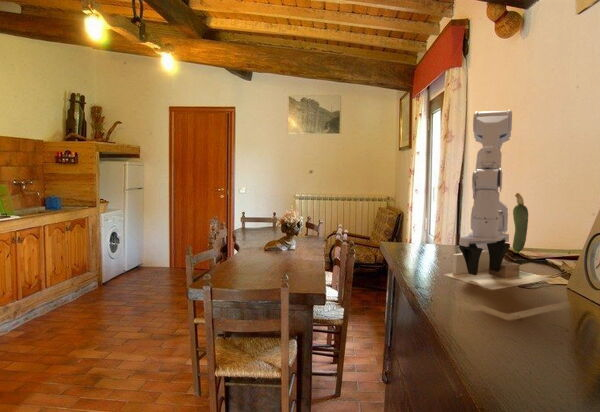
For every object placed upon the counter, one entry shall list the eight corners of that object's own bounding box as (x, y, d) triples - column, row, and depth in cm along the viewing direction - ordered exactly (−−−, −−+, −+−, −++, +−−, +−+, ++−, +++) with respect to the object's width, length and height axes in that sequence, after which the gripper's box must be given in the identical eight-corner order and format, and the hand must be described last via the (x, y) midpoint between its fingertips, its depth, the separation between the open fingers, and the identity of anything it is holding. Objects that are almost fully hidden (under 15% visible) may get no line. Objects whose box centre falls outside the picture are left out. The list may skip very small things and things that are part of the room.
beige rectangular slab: (452, 273, 109) (453, 254, 108) (496, 266, 116) (496, 248, 115) (456, 274, 108) (456, 255, 107) (500, 267, 114) (500, 249, 114)
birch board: (443, 278, 108) (443, 274, 108) (500, 269, 117) (500, 265, 117) (491, 294, 94) (492, 289, 94) (552, 282, 103) (553, 278, 103)
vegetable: (525, 253, 139) (528, 192, 137) (527, 255, 134) (530, 193, 133) (510, 252, 140) (512, 192, 138) (512, 254, 136) (514, 193, 134)
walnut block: (488, 273, 108) (488, 261, 108) (502, 271, 110) (502, 259, 110) (505, 278, 104) (505, 265, 104) (519, 275, 106) (519, 263, 106)
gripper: (477, 221, 96) (475, 279, 97) (520, 218, 102) (518, 272, 103) (453, 218, 102) (452, 272, 104) (496, 215, 109) (494, 266, 110)
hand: (483, 272), depth 104 cm, fingers open, 7 cm apart
